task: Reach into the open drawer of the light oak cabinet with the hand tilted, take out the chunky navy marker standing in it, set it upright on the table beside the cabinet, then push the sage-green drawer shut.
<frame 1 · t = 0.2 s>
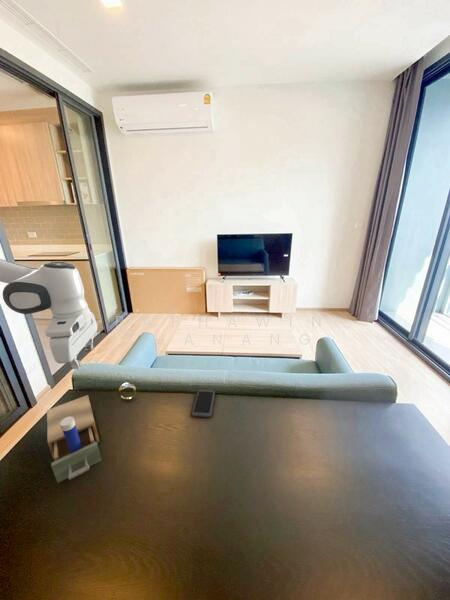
hand: (83, 358, 76), 30 cm above the table, tool pointing down, fingers open, 8 cm apart
drawer: (76, 449, 75), point 4 cm above the table, slide at 7.0 cm, touching marker
ring: (128, 400, 100), on the table
cell phone: (204, 403, 97), on the table
marker: (77, 455, 75), point 2 cm above the table, touching drawer
cabinet: (75, 435, 84), on the table
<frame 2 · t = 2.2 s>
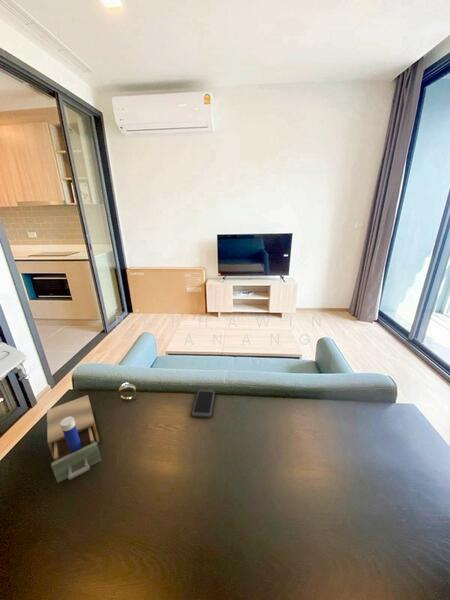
hand: (14, 390, 67), 27 cm above the table, tool tilted 45°, fingers open, 8 cm apart
nothing on the table moved.
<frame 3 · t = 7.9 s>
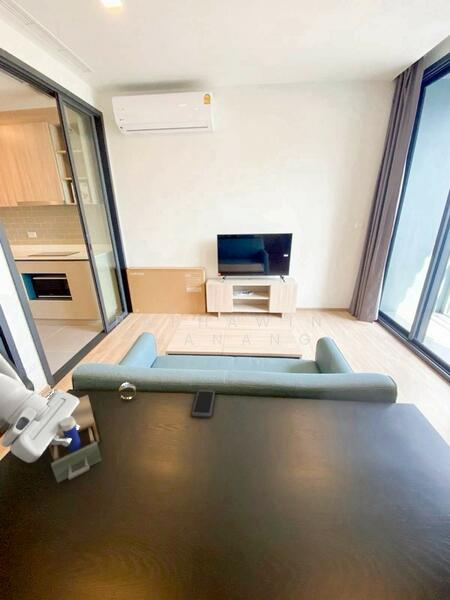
hand: (73, 436, 72), 10 cm above the table, tool tilted 45°, fingers closed on marker, 3 cm apart
marker: (77, 455, 75), point 2 cm above the table, touching drawer, gripper
everything else where it was.
when the fingers open (8 cm above the table, at t = 16.8 s): marker stays where it is, on the table.
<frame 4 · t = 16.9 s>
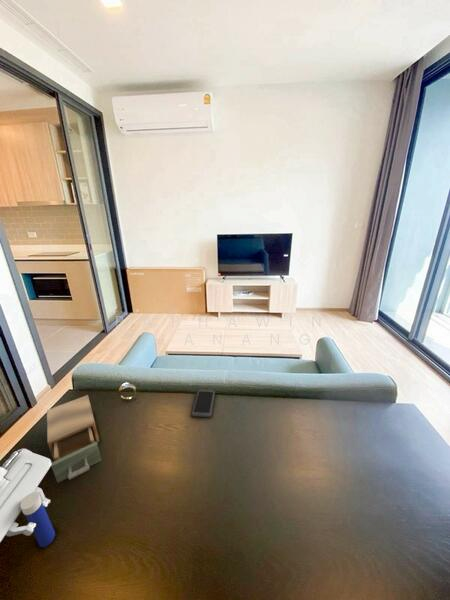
hand: (40, 517, 55), 8 cm above the table, tool tilted 45°, fingers open, 3 cm apart
drawer: (76, 449, 75), point 4 cm above the table, slide at 7.0 cm
marker: (47, 538, 58), on the table
everything else where it was.
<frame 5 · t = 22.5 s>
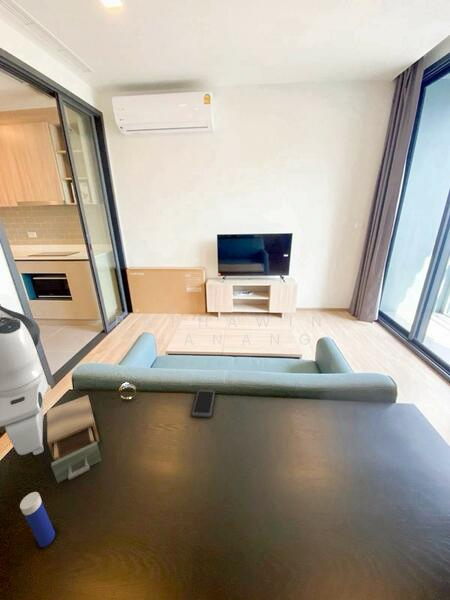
hand: (39, 436, 58), 23 cm above the table, tool pointing down, fingers open, 8 cm apart
nothing on the table moved.
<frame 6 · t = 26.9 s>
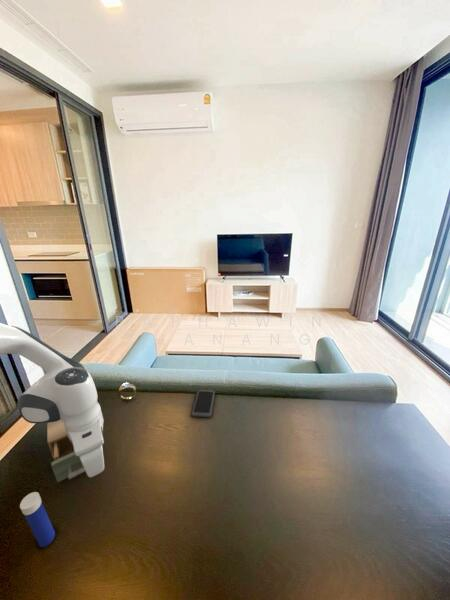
hand: (95, 458, 71), 5 cm above the table, tool pointing down, fingers closed
drawer: (76, 449, 75), point 4 cm above the table, slide at 6.8 cm, touching gripper
everything else where it was.
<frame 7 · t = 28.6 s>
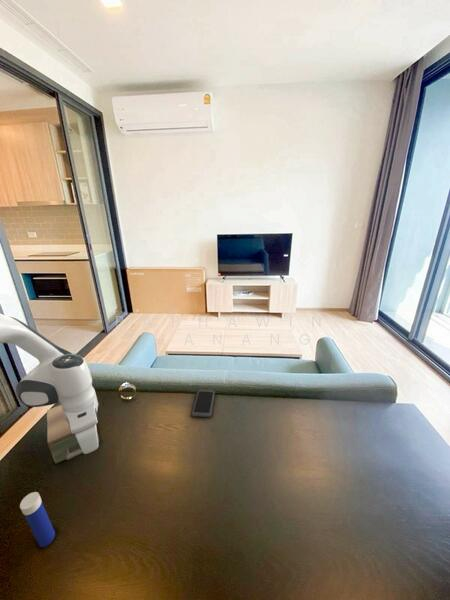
hand: (90, 439, 77), 5 cm above the table, tool pointing down, fingers closed
drawer: (74, 433, 80), point 4 cm above the table, slide at 0.0 cm, touching cabinet, gripper
everything else where it was.
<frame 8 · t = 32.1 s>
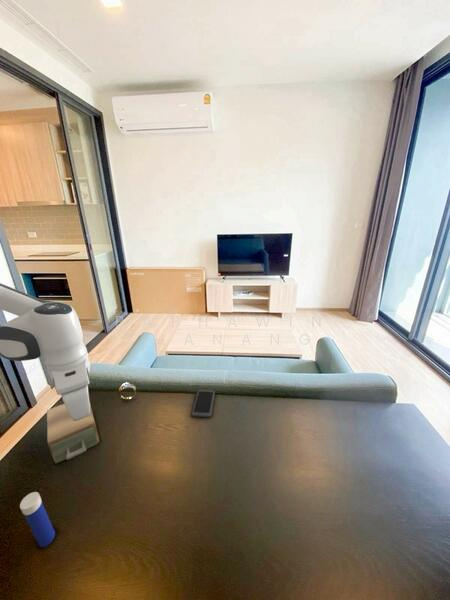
hand: (81, 408, 65), 23 cm above the table, tool pointing down, fingers closed
drawer: (74, 433, 80), point 4 cm above the table, slide at 0.0 cm, touching cabinet
everything else where it was.
at the end: marker inside the target area (0.1 cm from its centre), on the table; marker tilted 0°; drawer slide at 0.0 cm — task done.
